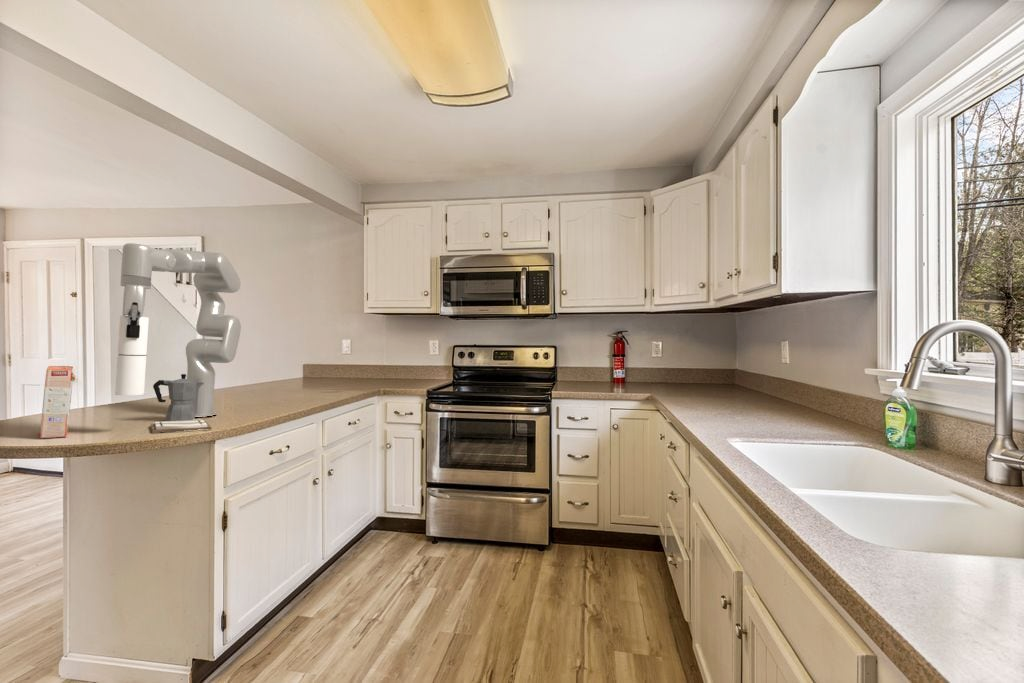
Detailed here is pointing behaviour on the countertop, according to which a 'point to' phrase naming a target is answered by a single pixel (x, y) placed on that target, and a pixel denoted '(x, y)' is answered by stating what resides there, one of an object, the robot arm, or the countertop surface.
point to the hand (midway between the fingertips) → (132, 337)
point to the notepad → (179, 425)
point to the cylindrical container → (131, 359)
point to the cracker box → (56, 401)
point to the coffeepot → (179, 397)
